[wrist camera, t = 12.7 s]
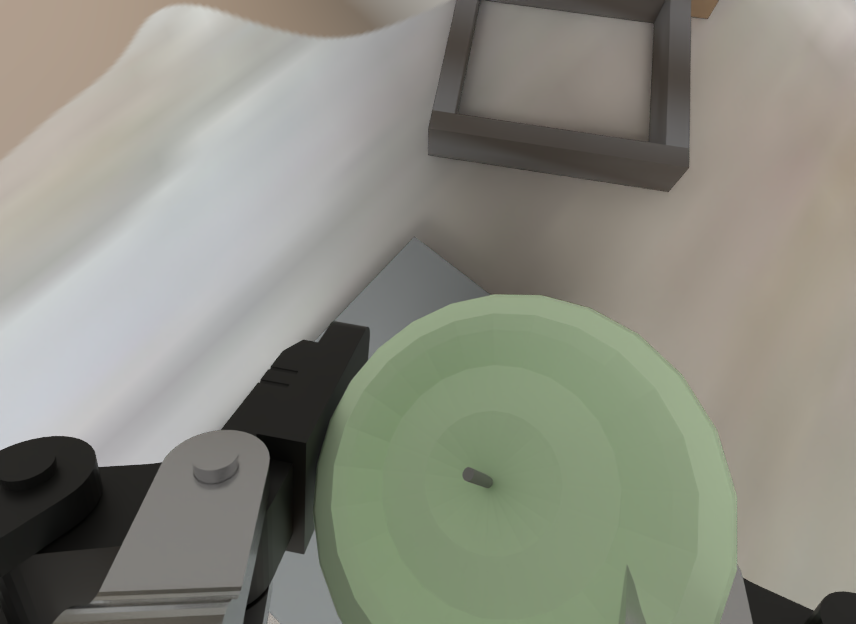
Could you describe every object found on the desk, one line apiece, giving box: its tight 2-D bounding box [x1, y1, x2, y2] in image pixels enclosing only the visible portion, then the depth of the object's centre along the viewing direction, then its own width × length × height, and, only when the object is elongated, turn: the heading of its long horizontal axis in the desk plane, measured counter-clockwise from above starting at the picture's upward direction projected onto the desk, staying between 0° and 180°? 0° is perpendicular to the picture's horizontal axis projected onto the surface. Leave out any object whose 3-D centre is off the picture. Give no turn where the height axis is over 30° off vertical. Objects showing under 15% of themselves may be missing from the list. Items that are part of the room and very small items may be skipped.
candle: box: [313, 294, 737, 624], centre depth 9 cm, size 5×5×8 cm
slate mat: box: [269, 237, 490, 624], centre depth 14 cm, size 11×11×1 cm
